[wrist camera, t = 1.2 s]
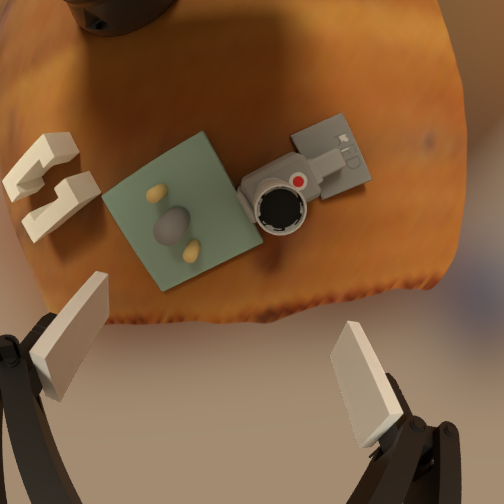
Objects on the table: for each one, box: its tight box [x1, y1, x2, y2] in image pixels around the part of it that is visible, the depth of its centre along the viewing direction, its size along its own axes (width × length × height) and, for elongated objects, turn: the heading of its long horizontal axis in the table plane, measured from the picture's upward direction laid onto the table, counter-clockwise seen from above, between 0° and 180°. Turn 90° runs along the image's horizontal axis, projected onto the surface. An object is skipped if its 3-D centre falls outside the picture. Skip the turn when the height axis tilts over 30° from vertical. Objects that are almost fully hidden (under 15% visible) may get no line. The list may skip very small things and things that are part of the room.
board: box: [101, 131, 263, 292], centre depth 32 cm, size 15×15×7 cm
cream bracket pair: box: [2, 132, 101, 243], centre depth 30 cm, size 10×10×6 cm
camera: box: [237, 113, 372, 235], centre depth 28 cm, size 9×12×15 cm
